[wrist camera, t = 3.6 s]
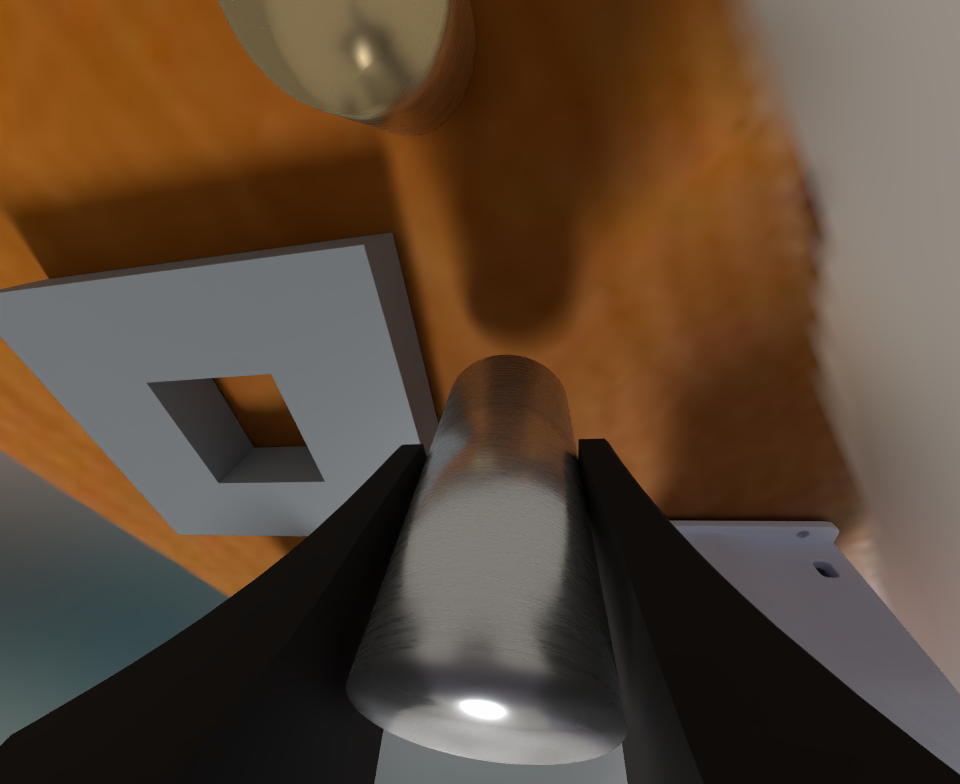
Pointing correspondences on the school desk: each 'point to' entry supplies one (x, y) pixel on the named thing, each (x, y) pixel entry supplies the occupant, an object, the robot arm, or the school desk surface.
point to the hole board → (235, 352)
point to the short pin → (364, 56)
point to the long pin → (495, 588)
